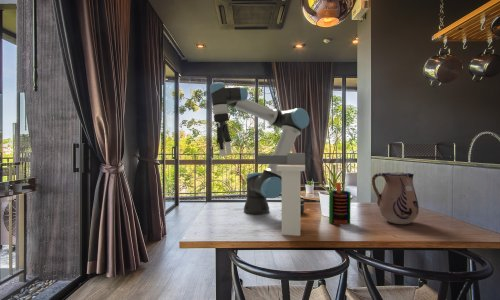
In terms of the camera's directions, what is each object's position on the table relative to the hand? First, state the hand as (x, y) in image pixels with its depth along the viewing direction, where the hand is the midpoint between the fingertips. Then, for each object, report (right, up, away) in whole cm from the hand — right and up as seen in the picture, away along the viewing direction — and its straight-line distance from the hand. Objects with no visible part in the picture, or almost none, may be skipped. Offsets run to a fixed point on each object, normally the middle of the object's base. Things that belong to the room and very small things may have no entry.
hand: (226, 155), depth 146 cm
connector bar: (+27, -4, -12) cm, 29 cm away
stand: (+31, -34, -17) cm, 49 cm away
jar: (+39, -34, +21) cm, 56 cm away
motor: (+57, -34, -2) cm, 66 cm away
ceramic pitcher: (+86, -34, -1) cm, 92 cm away
